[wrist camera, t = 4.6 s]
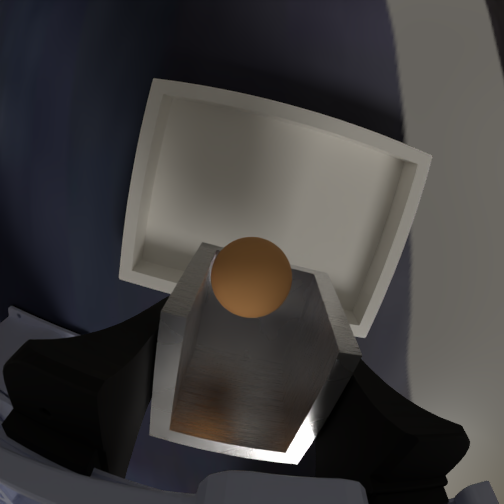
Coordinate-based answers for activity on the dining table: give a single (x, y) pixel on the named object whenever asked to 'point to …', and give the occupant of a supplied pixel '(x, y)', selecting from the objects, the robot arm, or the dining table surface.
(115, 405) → the robot arm
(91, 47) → the dining table surface
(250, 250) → the ball
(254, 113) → the tray
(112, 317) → the dining table surface
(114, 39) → the dining table surface
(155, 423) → the silver open box
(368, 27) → the dining table surface
